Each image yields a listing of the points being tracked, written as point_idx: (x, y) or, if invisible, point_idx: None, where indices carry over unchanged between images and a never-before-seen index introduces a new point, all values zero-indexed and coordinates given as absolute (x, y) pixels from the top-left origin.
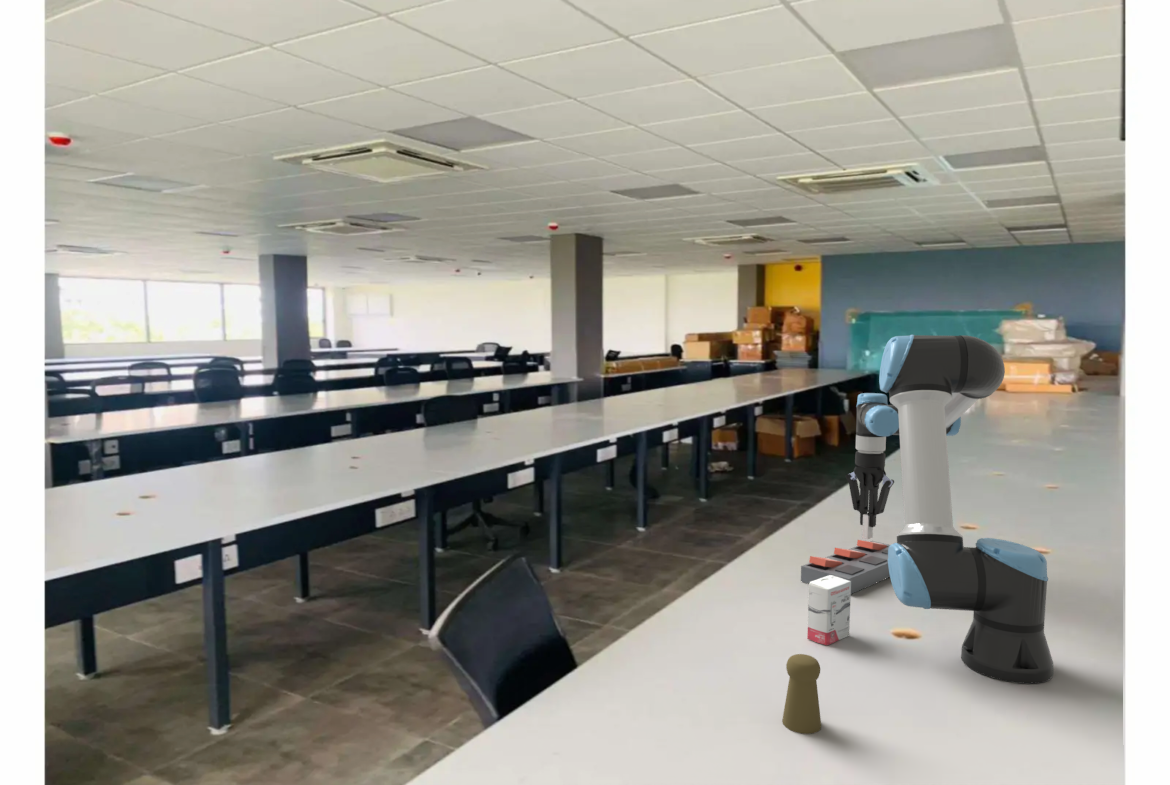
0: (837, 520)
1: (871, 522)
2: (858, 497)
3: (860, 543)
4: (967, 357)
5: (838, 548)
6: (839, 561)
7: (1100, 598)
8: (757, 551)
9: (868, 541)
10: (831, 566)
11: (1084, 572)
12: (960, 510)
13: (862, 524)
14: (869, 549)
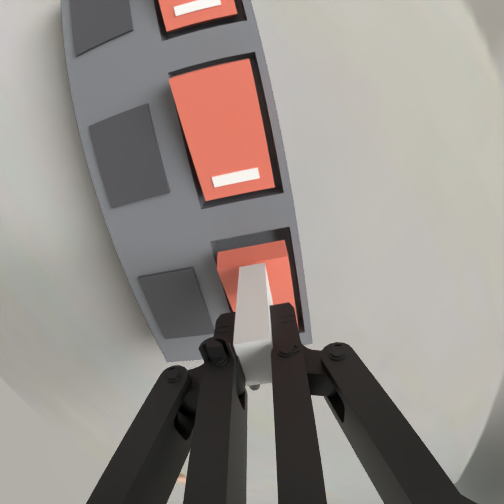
0: (462, 398)
1: (226, 329)
2: (351, 433)
3: (271, 250)
4: None
5: (230, 63)
6: (175, 24)
7: (5, 376)
8: (493, 72)
9: None
10: None
11: (88, 443)
12: (343, 499)
13: (277, 306)
14: (300, 310)
